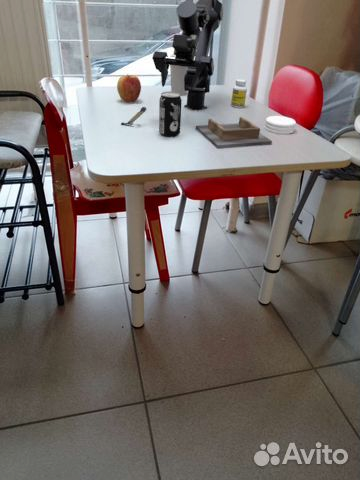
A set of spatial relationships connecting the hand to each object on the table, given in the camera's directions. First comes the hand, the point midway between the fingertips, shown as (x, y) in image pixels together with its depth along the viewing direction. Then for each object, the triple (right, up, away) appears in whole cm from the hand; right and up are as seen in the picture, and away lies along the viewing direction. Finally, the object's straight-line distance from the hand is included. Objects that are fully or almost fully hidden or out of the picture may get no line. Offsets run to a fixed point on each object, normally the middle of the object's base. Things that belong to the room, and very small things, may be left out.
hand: (176, 87), depth 109 cm
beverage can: (-2, -14, +2) cm, 14 cm away
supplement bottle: (+24, +7, +34) cm, 42 cm away
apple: (-19, +8, +32) cm, 38 cm away
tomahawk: (-13, -4, +16) cm, 21 cm away
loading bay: (+17, -14, +4) cm, 23 cm away
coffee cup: (0, +17, +46) cm, 49 cm away
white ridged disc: (+35, -9, +12) cm, 38 cm away
